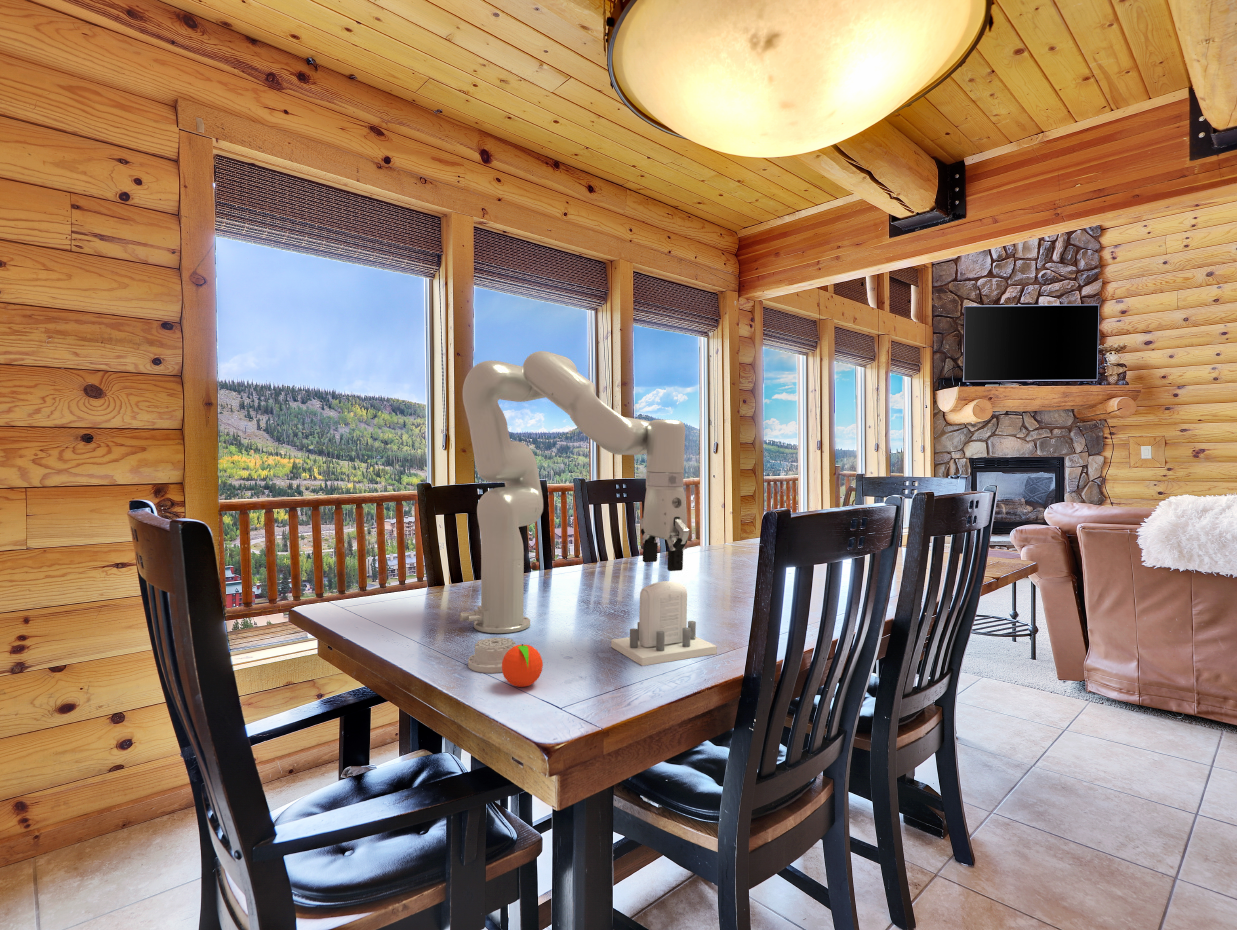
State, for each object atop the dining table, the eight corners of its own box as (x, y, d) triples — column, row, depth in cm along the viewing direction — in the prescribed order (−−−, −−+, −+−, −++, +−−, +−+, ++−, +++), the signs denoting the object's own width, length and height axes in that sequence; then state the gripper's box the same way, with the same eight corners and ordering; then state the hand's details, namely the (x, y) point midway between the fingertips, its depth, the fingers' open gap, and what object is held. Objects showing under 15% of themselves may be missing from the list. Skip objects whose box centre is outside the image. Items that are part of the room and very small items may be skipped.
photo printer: (677, 636, 135) (677, 577, 135) (689, 642, 131) (690, 581, 131) (635, 644, 129) (636, 582, 129) (647, 649, 126) (648, 586, 126)
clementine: (548, 692, 107) (549, 650, 107) (506, 697, 105) (507, 654, 104) (537, 676, 115) (537, 636, 114) (498, 681, 112) (498, 640, 112)
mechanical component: (456, 667, 120) (496, 678, 114) (456, 644, 119) (496, 653, 114) (494, 653, 128) (533, 663, 123) (494, 631, 128) (533, 640, 122)
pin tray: (642, 665, 121) (642, 639, 121) (611, 647, 132) (611, 622, 132) (716, 653, 129) (717, 628, 128) (681, 636, 140) (681, 613, 140)
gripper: (704, 484, 124) (701, 573, 124) (658, 478, 139) (656, 557, 140) (671, 484, 120) (668, 575, 121) (628, 478, 136) (625, 559, 136)
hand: (662, 566), depth 130 cm, fingers open, 9 cm apart
